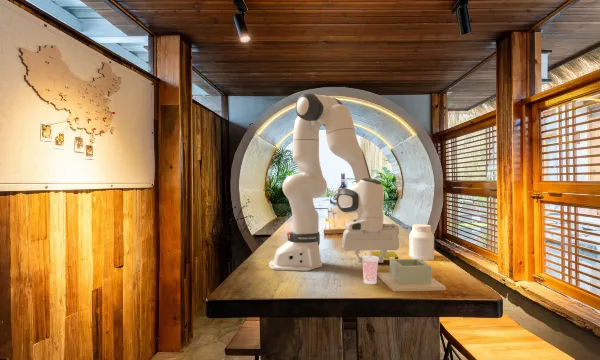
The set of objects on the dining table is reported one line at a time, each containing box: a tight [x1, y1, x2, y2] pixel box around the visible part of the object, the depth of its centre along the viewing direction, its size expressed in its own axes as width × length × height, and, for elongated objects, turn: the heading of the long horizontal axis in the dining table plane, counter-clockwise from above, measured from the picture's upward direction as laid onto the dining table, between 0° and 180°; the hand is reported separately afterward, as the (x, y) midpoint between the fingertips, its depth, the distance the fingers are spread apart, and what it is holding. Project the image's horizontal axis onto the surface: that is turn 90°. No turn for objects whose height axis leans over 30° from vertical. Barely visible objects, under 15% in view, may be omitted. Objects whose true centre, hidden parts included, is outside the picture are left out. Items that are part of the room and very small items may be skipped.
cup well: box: [377, 258, 447, 292], centre depth 130 cm, size 18×18×7 cm
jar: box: [408, 223, 435, 261], centre depth 168 cm, size 12×10×15 cm
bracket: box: [371, 250, 400, 260], centre depth 157 cm, size 16×8×15 cm
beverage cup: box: [361, 250, 379, 285], centre depth 130 cm, size 6×6×14 cm
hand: (370, 262), depth 130 cm, fingers closed on beverage cup, 6 cm apart
